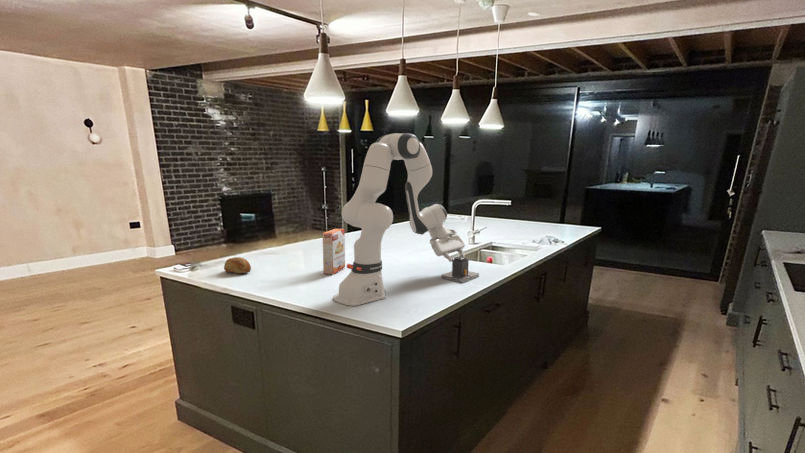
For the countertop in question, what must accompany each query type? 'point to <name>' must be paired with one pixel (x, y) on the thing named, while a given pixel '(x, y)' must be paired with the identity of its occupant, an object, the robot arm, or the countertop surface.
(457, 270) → the dark grey block
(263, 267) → the countertop surface
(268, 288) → the countertop surface
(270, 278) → the countertop surface
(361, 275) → the robot arm
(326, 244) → the cracker box
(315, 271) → the countertop surface
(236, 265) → the bread roll
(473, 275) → the hub plate
